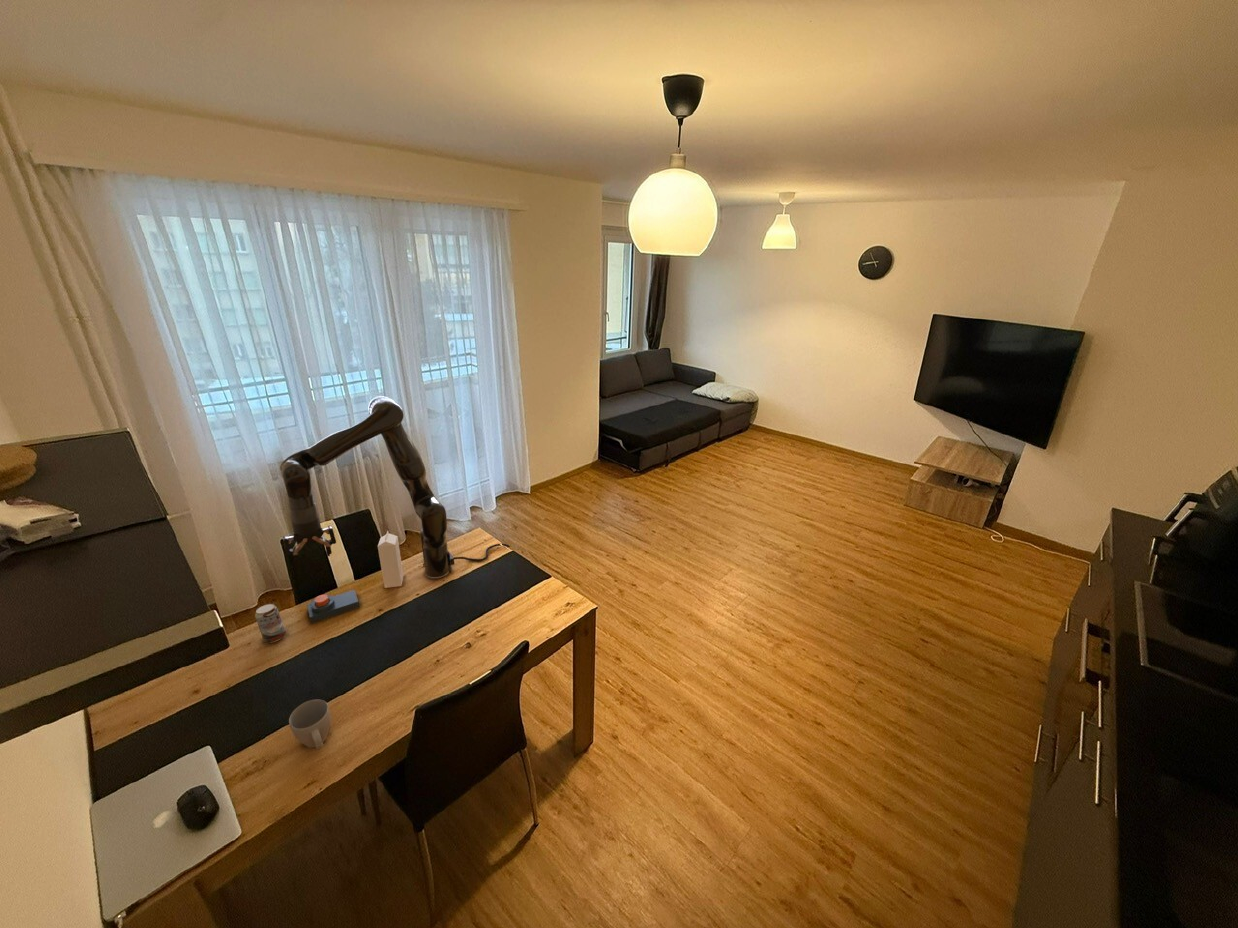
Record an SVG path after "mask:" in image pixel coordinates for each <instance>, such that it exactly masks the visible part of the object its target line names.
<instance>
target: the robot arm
mask: <svg viewBox="0 0 1238 928" xmlns="http://www.w3.org/2000/svg"><path fill="white" fill-rule="evenodd" d="M367 411H368V412H367V413H368V415H369V416H368V417H366V418H365V419H363V420H361V422H358V423H357V424H354V425H353V426H351V427H346V428H344V429H342V430H338V431H336V432H333V433H331V434H329V435H328V436H326V437H324V438H322V439H321V440H319V441H317V442H316V443H314V444H313V445H311V446H310V447H307V448H305V449H302V450H300V451H297V452H294V453H292V454H290V455H289V456H287V457H285V458H284V459H283V460H282V461H281V462H280V465H279V471H280V473H281V477H282V480H283V484H284V487H285V490H286V500H287V505H288V509H289V510H288V511H289V513H288V514H289V519H290V522H291V526H292V529H293V535H290V536H288V535H284V536H282V541H283V547H284V552H285V555H286V556H292V558H293V561H294V563H295V564H297V565H300V564H301V561H300V560H301V559H300V556H299V552H300V551H301V550H302V549H303V547H304V546H305V547H308V546H310V545H311V546H312V545H316V544H317V543H319V544H320V545H322V546H324V548H325V552H326V556H327V557H330V556H331V555H332V553H333V552H332V547H331V546H332V545H335V544H337V539H336V536H335V532H334V529H333V526H332V525H328V526H327V527H324V528H322V525H321V520H320V514H319V510H318V507H317V506H318V505H316V500H315V495H314V491H313V489H312V488H313V487H312V486H313V485H312V477H311V472H310V471H311V469H314V468H315V467H317V466H320V467H321V466H322V467H324V466H327V465H329V464H330V463H331V462H333V461H335V460H336V459H337V458H339V457H341V456H343V455H344V454H345V453H348V452H349V451H351V450H352V449H354V448H356V447H357V446H359V445H361V444H363V443H365V442H367V441H369V440H371V439H373V438H375V437H377V436H379V435H381V436H382V439H383V441H384V443H385V447H386V449H387V452H388V455H389V457H390V460H391V462H392V465H393V467H394V469H395V471H396V473H397V475H398V477H399V479H400V480H401V482H402V484H403V485H404V487H405V488H406V490H407V491H408V494H409V496H410V499H411V502H412V505H413V509H414V512H415V514H416V515H417V517H418V518H419V519H420V521H421V530H420V542H421V549H422V550H421V551H422V558H423V564H422V567H423V568H424V575H425V577H427V578H428V579H429V580H439V579H443V578H445V577H447V576H449V574H451V573H452V566H454V565H455V560H465V561H470V562H471V561H472V562H482V561H485V560H487V559H488V557H489V550H490V549H492V548H496V547H501V545H500V544H502V545H503V546H502V547H507V548H511V545H509V544H506V543H496V544H492V545H490V546H488V547H487V548H485V549H486V550H485V556H484V557H482V558H473V557H472V558H470V557H466V556H453V555H452V553H451V552H450V551H449V550H448V540H447V539H448V538H447V532H448V531H447V530H448V518H447V511H446V508H445V506H444V505H443V503H442V502H440V500H439V499H438V498H437V497H436V495H435V494H434V493H433V491H432V489H431V487H430V485H429V482H428V479H427V469H426V465H425V463H424V461H423V459H422V457H421V454H420V452H419V450H418V448H417V447H416V445H415V443H414V442H413V441H412V439H411V438H410V436H409V434H408V433H407V432H406V430H405V428H404V426H403V424H402V422H403V420H404V417H405V416H404V415H405V414H404V410H403V409H402V407H401V406H400V405H399V404H398V403H397V402H396V401H395V400H393V399H392V398H390V397H388V396H383V395H379V396H378V395H377V396H375V397H374V398H372V399H371V400H370V401H369V403H368V408H367ZM325 533H326V535H329V537H330V539H327V538H326V537H324V534H325ZM292 541H294V542H295V544H294V546H293V548H290V544H291V543H292Z"/></svg>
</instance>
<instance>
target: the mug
mask: <svg viewBox="0 0 1238 928" xmlns="http://www.w3.org/2000/svg"><path fill="white" fill-rule="evenodd" d="M331 719H332V718H331V710H330V707H329V704H328V703H327V701H325V700H323V699H319V698H315V699H314V698H313V699H310V700H307V701H304V702H302V703H301V704H299V705H298V706H297V707H296V708H295V709H293V711H292V712H291V713H290V716H289V718H288V725H289V728H290V731H291V733H292V734H293V736H294V738H295V739H296V740H297V741H298V742H299V743H300V744H302V745H303V746H305V747H307V748H315V750H317V751H319V750H321V749H323V747H324V742H325V741H326V740H327V738H328V735H329V732H330V728H331Z"/></svg>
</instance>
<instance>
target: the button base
mask: <svg viewBox="0 0 1238 928" xmlns="http://www.w3.org/2000/svg"><path fill="white" fill-rule="evenodd" d="M327 596H328V599H329V603H328V604H326V605H325V606H322V607H317V606H316V604H315V599H313V600H312V601H311V602H310V603H308V604H306V608H307V611H308V616H309V620H310V623H311V624H314V623H317V622H320V621H323V620H326V619H327V618H328V619H329V618H331V617H335V616H337V615H341V614H344V613H347V612H349V611H351V610H356V609H358V608H360V602H359V599H358V596H357V593H356V591H355V589H352V590H348V591H346V592H342V593H339V594H336V595H333V596H331V595H327Z"/></svg>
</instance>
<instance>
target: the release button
mask: <svg viewBox="0 0 1238 928" xmlns="http://www.w3.org/2000/svg"><path fill="white" fill-rule="evenodd" d="M328 596H329V595H328V594H320V595H318V596H316V597H315V598H314V600H315V604H316V606H317V607H322V606H325V605H326V604H328V603H329V599H328Z"/></svg>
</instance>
